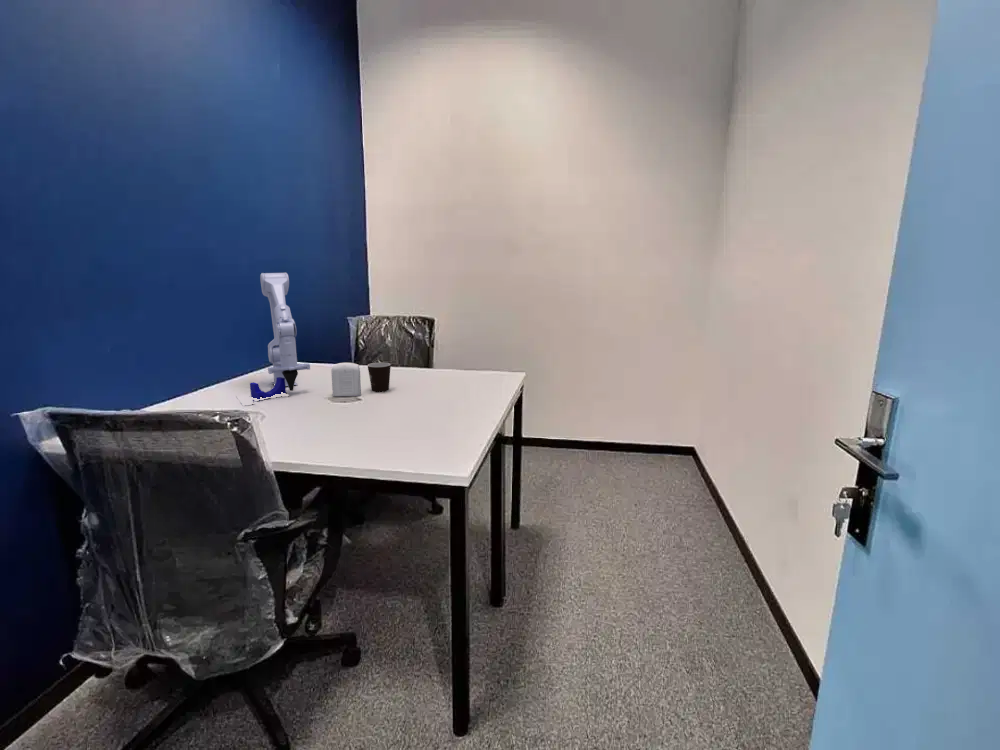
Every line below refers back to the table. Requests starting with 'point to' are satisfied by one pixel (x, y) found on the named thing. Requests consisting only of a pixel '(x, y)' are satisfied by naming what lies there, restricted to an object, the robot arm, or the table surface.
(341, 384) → the photo printer
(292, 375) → the robot arm
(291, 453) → the table surface
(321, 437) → the table surface
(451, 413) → the table surface
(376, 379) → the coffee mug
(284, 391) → the cable clip
